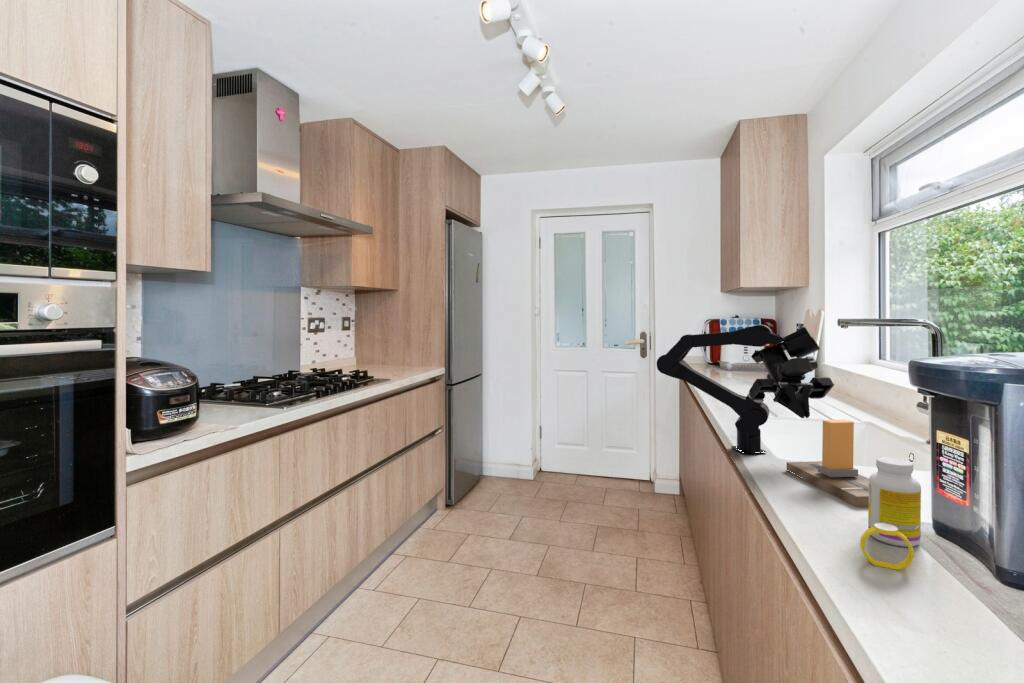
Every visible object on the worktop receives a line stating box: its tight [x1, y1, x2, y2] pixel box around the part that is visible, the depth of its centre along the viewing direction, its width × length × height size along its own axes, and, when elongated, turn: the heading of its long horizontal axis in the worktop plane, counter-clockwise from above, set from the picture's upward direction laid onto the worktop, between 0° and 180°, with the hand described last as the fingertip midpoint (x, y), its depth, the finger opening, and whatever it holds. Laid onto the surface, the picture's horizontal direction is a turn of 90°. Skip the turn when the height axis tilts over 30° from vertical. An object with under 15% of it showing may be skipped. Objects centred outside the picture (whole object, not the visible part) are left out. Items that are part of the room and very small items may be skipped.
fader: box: [818, 419, 859, 477], centre depth 102 cm, size 4×6×12 cm, turn 92°
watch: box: [859, 523, 915, 571], centre depth 69 cm, size 6×3×6 cm, turn 59°
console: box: [786, 460, 869, 508], centre depth 102 cm, size 22×10×2 cm, turn 2°
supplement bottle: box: [867, 456, 922, 548], centre depth 77 cm, size 7×7×13 cm
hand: (805, 417), depth 113 cm, fingers closed
